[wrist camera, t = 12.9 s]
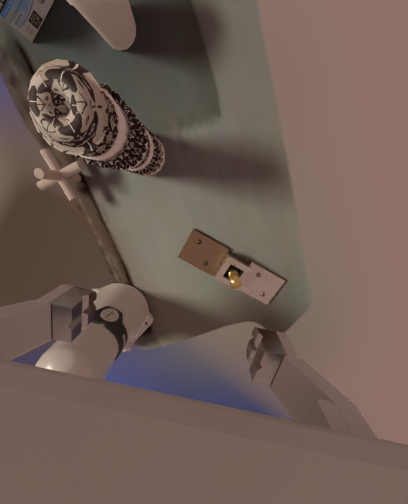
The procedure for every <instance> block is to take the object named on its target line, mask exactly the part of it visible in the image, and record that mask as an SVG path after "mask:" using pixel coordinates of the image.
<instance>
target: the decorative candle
mask: <svg viewBox="0 0 408 504" xmlns="http://www.w3.org/2000/svg"><path fill="white" fill-rule="evenodd" d="M28 102H29V111H30V115H31V117H32V120H33V122H34V124H35V126H36V129H37V131H38V132H39V133H40V134H41V136H42V137H43V138H44V139H45V140H46V141H47V143H48V144H49V145H51V146H53V147H54V148H56V149H58V150H59V151H61V152H63V153H66V154H73V155H74V156H75V157H77V158H82V157H83V160H84V161H85V162H86V163H87V164H89V165H92V164H93V165H97V166H99V167H103V168H108V167H110V168H112V169H116V170H119V169H124V170H126V171H130V172H131V173H135V174H138V175H146V176H150V175H154V174H156V173H157V172H158V171H160V170H161V168H162V166H163V164H164V162H165V152H164V148H163V145H162V144H161V143H160V141H159V140H158V138H157V137H156V136H155V135H153V133H151V131H150V130H148V129H147V128H146V127H145V126H144V125H142V124H141V123H140V122H139V120H138V119H137V118H136V116H135V114H134V113H133V112H132V111H131V109H130V108H129V107H128V106H126V104H125V102H124V101H123V100H122V99H120V96H119V94H118V93H117V92H115V91H112V92H111V89H110V88H109V86H107V85H106V84H101V85H99V84H98V83H97V81H96V80H95V79H94V77H93V76H92V75H91V73H90V72H89V71H87V70H86V69H84V68H83V67H81V66H80V65H78V64H77V63H75V62H72V61H66V60H59V59H56V60H53V61H51V62H48V63H45V64H43V65H42V66H41V67H40V68H39V69H38V70H37V72H36V73H35V74H34V75H33V77H32V79H31V83H30V87H29V91H28ZM119 106H120V107H121V108H120V107H119Z"/></svg>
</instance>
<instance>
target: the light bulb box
mask: <svg viewBox="0 0 408 504" xmlns="http://www.w3.org/2000/svg"><path fill="white" fill-rule="evenodd" d="M53 2H54V0H0V16H1V17H2V18H3V19H5V20H6V21H7V22H8V23H9V24H10V25H12V26H13V27H14V28H15V29H16V30H18V31H19V32H20V33H21V34H22V35H24V36H25V37H26V38H27V39H28V40H29V41H31V42H33V40H34V38H35V36H36V35H37V33H38V31H39V29H40V27H41V25H42V23H43V21H44V19H45V17H46V15H47V14H48V12H49V10H50V8H51V6H52V4H53Z"/></svg>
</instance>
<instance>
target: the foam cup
mask: <svg viewBox="0 0 408 504" xmlns="http://www.w3.org/2000/svg"><path fill="white" fill-rule="evenodd" d="M66 1H67V2H68V3H69V4H70V5H73V6H74V7H75V8H76V9H77V10H78V11H79V12H80V13H81V14H82V15H83V17H84V18H85V19H86V20H87V21H88V22H89V23H90V24H91V25H92V26H93V27H94V28H95V29H96V30H97V32H98V33H99V34H100V35H101V36H102V37H103V38H104V39H105V40H106V41H107V42H108V43H109V44H110V45H111V46H112V47H113V48H114V49H117V50H120V51H121V50H126V49H128V48H129V47H130V46H131V45H132V44H133V42H134V40H135V37H136V24H135V20H134V17H133V14H132V10H131V7H130V4H129V0H66Z"/></svg>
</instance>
